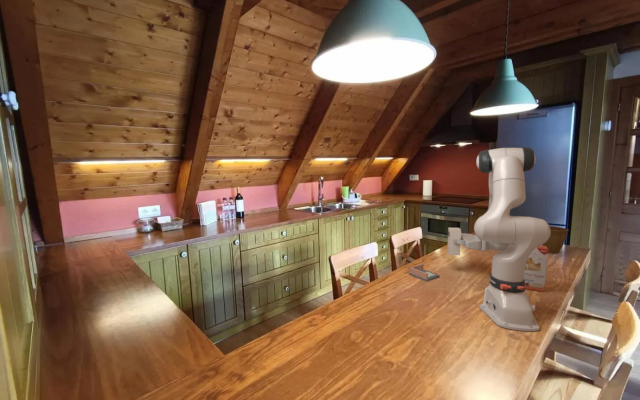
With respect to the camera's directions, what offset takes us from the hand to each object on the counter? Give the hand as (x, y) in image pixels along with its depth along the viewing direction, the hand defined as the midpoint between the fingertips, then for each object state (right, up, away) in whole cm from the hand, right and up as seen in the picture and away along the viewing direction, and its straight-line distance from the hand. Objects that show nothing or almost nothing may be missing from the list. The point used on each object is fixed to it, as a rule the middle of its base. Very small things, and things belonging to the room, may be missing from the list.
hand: (452, 239), depth 160 cm
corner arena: (-16, -19, -2) cm, 25 cm away
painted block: (+1, -8, +1) cm, 8 cm away
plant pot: (+82, -13, +36) cm, 90 cm away
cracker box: (+27, -21, -18) cm, 39 cm away
